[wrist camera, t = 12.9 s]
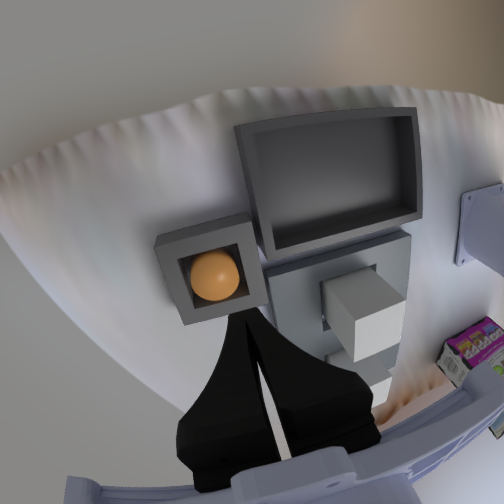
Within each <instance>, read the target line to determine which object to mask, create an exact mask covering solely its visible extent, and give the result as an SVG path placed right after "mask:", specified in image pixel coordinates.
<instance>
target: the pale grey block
mask: <svg viewBox="0 0 504 504" xmlns="http://www.w3.org/2000/svg"><path fill="white" fill-rule="evenodd" d="M320 288H321V299H322V311H323V316H324V318H325V319H326V321H327V322H328V324H329V325H330V327H331V328H332V330H333V332H334V333H335V335H336V336H337V338H338V339H339V341H340V342H341V344H342V345H343V347H344V348H345V350H346V351H347V353H348V354H349V356H350V357H351V359H352V361H353V362H357V361H359V360H361V359H364V358H366V357H369V356H371V355H373V354H375V353H378V352H380V351H382V350H384V349H387V348H389V347H391V346H393V345H395V344H397V343H399V342H400V340H401V334H402V327H403V321H404V314H405V306H406V299H405V298H404V297H403V296H402V295H400V294H399V293H398V292H397V291H396V290H395V289H394V288H393V287H392V286H391V285H389V284H388V283H387V282H386V281H385V280H384V279H383V278H382V277H380V276H379V275H378V274H377V273H376V272H375V271H374V270H372V269H371V268H370V267H369V266H367V267H364V268H361V269H358V270H355V271H352V272H349V273H346V274H343V275H339V276H336V277H333V278H330V279H327V280H323V281H320Z"/></svg>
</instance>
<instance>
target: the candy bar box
mask: <svg viewBox="0 0 504 504" xmlns="http://www.w3.org/2000/svg"><path fill="white" fill-rule="evenodd" d="M484 360H486V361H487V362H488V363H489V364H490V365H491V366H492V368H493V369H494V370H495V371H496V372H497V373H498V374H499V375H500V376H501V377H502V378H503V379H504V330H503V329H502V328H501V327H500V326H499V325H498V324H496V323H495V322H494V321H493V320H492V319H491V318H489V317H485V318H484V319H482V320H481V321H479V322H477V323H476V324H474V325H473V326H471V327H469V328H468V329H466V330H464V331H463V332H461V333H459V334H458V335H456V336H454V337H452V338H450V339H449V340H447V341H445V343H444V345H443V348H442V350H441V353H440V355H439V357H438V360H437V363H436V365H437V366H438V367H439V368H440V370H441V371H442V372H443V373H444V374H445V375H446V376H447V377H448V379H449V380H450V381H451V382H452V383H453V385H454V386H455V387H456V388H458V387H459V386H460V385H462V381H463V379H464V377H465V376H466V375H467V373H468V372H469V371H470V370H472V369H473V368H474V367H476V366H477V365H478V364H480V363H481V362H482V361H484ZM488 428H489V429H490V431H491V432H492V433H493V435H494V436H495V437H496V439H499V438H500V437H501V436H502V435H503V434H504V409H503V411H502V412H501V413H500V415H499V416H498V417H497V419H496V420H495V421H494V422H493V423H492V424H491V425H490V426H489V427H488Z"/></svg>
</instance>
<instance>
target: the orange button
mask: <svg viewBox="0 0 504 504" xmlns="http://www.w3.org/2000/svg"><path fill="white" fill-rule="evenodd" d="M238 284H239V274H238V270H237V267H236V264H235V261H234V258H233V256H232V254H231V253H230V252H229V251H228V250H227V249H225V248H223V247H220V248H216V249H212V250H208V251H205V252H201V253H197V254H195V255H194V256H193V258H192V261H191V285H192V288H193V290H194V291H195V292H196V294H197V295H199V296H200V297H202V298H204V299H206V300H211V301H217V300H222V299H225V298H227V297H229V296H230V295H231V294H232V293H234V291H235V290H236V288H237V286H238Z"/></svg>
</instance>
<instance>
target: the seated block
mask: <svg viewBox="0 0 504 504" xmlns="http://www.w3.org/2000/svg"><path fill="white" fill-rule="evenodd" d="M325 362H327V363H329V364H331V365H334V366H336V367H339V368H343V369H346V370H350V371H353V372H356V373H357V374H358V375H359V376H360V377H361V378H362V379H363V380H364V381H365V382H366V383H367V385H368V386H369V387H370V389H371V391H372V392H373V403H372V408H373V407H375V406H377V405H379V404H381V403H383V402H385V401H386V400H387V396H388V392H389V388H390V384H391V380H392V375H391V374H390V372H389V371H388V369H387V368H386V367H385V365H384V364H383V363H382V361H381V360H380V359H379V357H378V356H377V354H376V353H375V354H373V355H371V356H369V357H366V358H364V359H361V360H359V361H357V362H353V361H352V359H351V357H350V356H349V354H348V353H347V351H346V350H345V348H344V349H342V350H339V351H336V352H333V353H331V354H328V355H325Z"/></svg>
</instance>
